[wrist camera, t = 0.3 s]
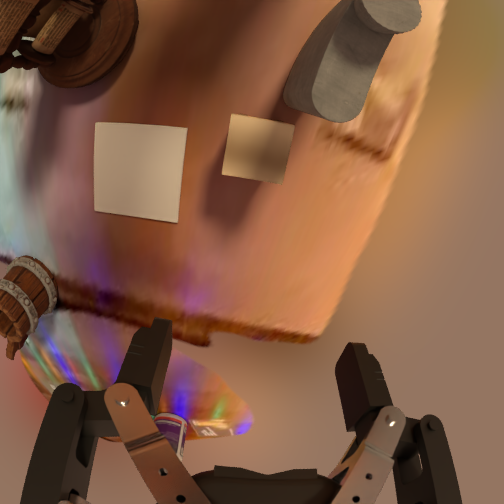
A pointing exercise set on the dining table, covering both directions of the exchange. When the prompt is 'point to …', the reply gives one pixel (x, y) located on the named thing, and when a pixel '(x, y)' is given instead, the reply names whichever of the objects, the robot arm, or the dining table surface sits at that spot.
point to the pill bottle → (172, 431)
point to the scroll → (67, 37)
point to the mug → (24, 300)
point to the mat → (139, 169)
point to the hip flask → (346, 56)
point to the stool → (257, 148)
